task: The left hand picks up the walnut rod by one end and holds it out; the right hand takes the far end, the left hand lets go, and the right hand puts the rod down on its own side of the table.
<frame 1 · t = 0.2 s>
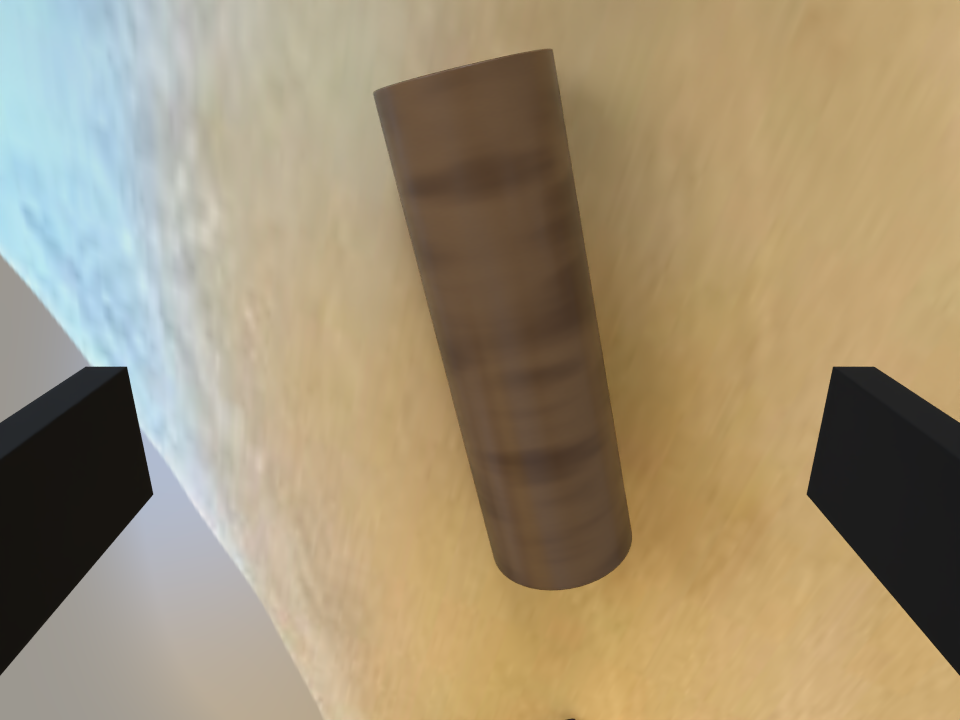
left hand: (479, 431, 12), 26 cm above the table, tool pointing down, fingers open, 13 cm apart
rod: (514, 314, 39), on the table
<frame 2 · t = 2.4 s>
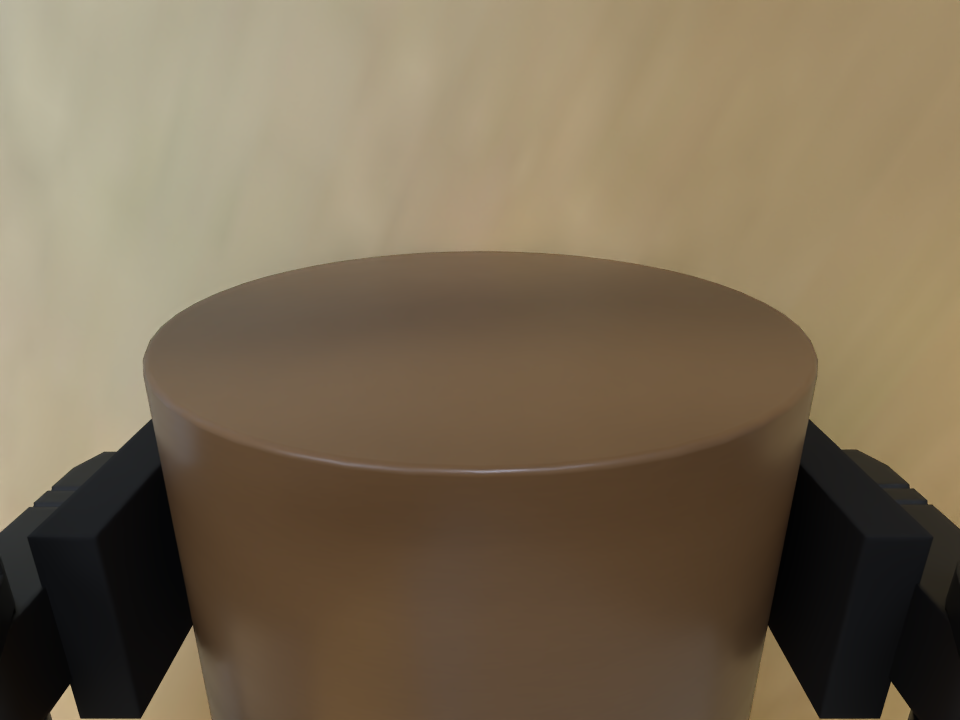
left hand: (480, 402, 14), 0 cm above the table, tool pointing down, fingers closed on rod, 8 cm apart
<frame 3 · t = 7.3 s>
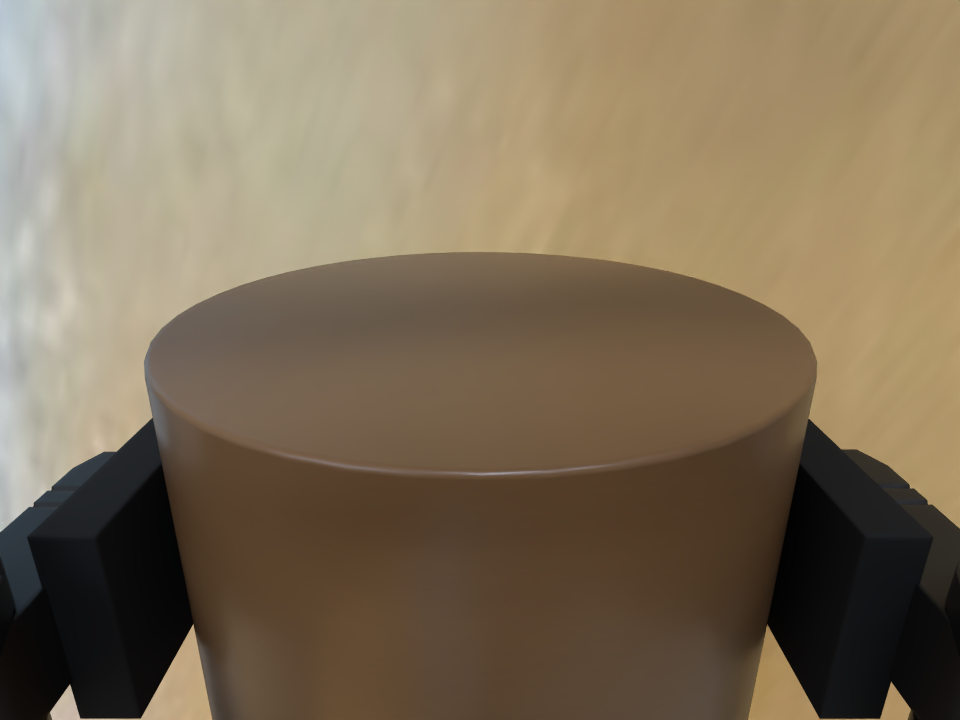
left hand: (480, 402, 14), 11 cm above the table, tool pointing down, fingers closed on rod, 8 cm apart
when the left hand's fingers open (11 cm above the table, at t = 8.3 s): rod stays where it is, held by the right hand.
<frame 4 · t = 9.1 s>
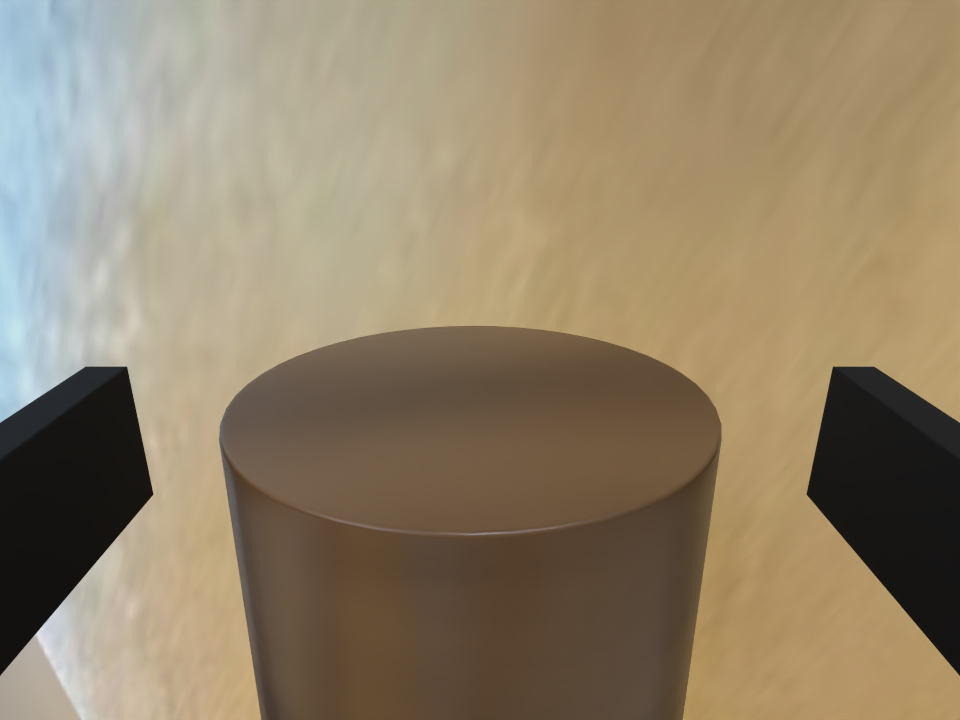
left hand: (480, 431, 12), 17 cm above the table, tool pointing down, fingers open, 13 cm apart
when the right hand's fingers open (2 cm above the table, at t = 12.9 s): rod drops 1 cm, on the table.
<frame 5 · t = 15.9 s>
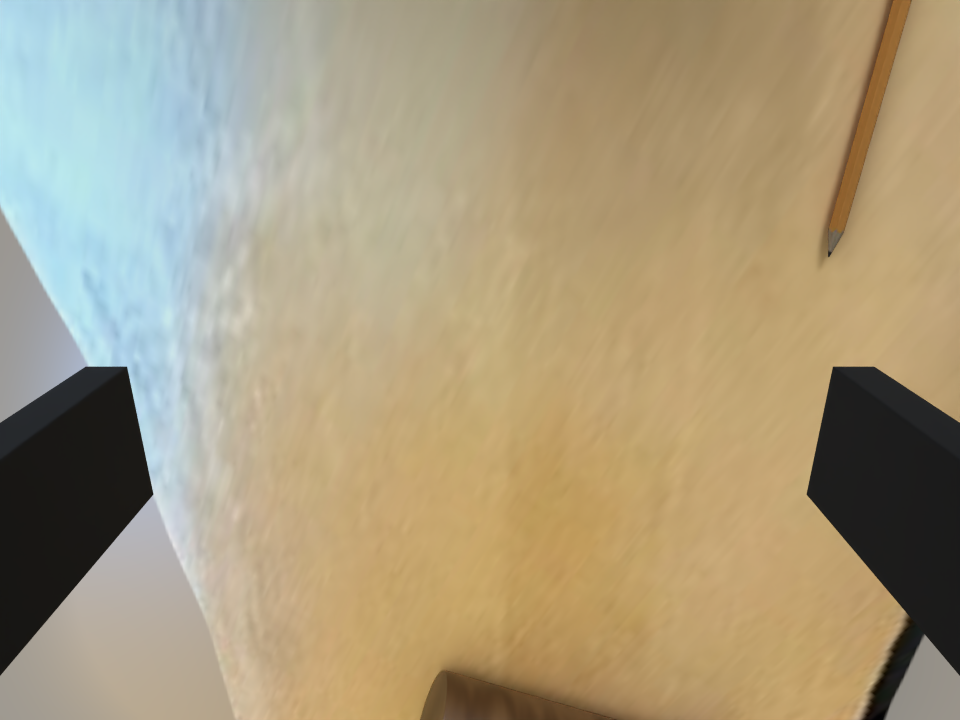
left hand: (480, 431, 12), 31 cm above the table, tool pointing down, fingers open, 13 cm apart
pencil: (868, 96, 39), on the table
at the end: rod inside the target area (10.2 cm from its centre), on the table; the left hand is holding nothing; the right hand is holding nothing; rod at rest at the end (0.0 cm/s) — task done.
